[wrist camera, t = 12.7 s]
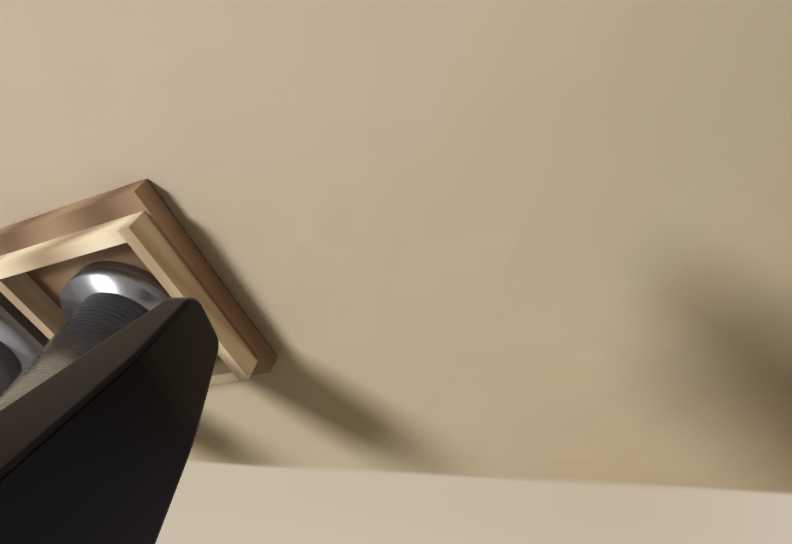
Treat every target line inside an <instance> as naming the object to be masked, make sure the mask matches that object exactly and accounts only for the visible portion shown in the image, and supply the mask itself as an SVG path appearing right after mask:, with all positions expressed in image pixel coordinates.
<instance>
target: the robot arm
mask: <svg viewBox="0 0 792 544" xmlns="http://www.w3.org/2000/svg"><path fill="white" fill-rule="evenodd" d="M218 350H219V341H218V336H217V334H216V332H215V330H214V328H213V326H212V324H211V322H210V320H209V318H208V316H207V314H206V312H205V310H204V308H203V306H202V304H201V303H200V301H198V300H197V299H196V298H193V297H174V298H169V299H166V300H165V301H163V302H162V303H160V304H159V305H157V306H156V307H154V308H153V309H151V310H150V311H148V312H147V313H145V314H144V315H142V316H141V317H139V318H138V319H136V320H135V321H133V322H132V323H130V324H129V325H127V326H126V327H124V328H123V329H121V330H120V331H118V332H117V333H115V334H114V335H112V336H111V337H109V338H108V339H106V340H105V341H103V342H102V343H100V344H99V345H97V346H96V347H94V348H93V349H91V350H90V351H88V352H87V353H85V354H84V355H82V356H81V357H80V358H78V359H77V360H75V361H74V362H72V363H71V364H69V365H68V366H66V367H65V368H63V369H62V370H60V371H59V372H57V373H56V374H54V375H53V376H51V377H50V378H48V379H47V380H45V381H44V382H42V383H41V384H39V385H38V386H36V387H35V388H33V389H32V390H30V391H29V392H27V393H26V394H24V395H23V396H21V397H20V398H18V399H17V400H15V401H14V402H12V403H11V404H9V405H8V406H6V407H5V408H3V409H2V410H0V544H155V543H156V540H157V538H158V535H159V532H160V530H161V527H162V525H163V521H164V519H165V517H166V514H167V512H168V509H169V506H170V504H171V501H172V498H173V496H174V493H175V490H176V488H177V485H178V483H179V480H180V477H181V475H182V472H183V470H184V467H185V465H186V462H187V459H188V457H189V454H190V451H191V448H192V445H193V442H194V439H195V436H196V433H197V429H198V426H199V422H200V418H201V415H202V411H203V407H204V403H205V400H206V396H207V392H208V388H209V385H210V381H211V377H212V373H213V370H214V366H215V362H216V358H217V355H218Z"/></svg>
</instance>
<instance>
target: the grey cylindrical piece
mask: <svg viewBox="0 0 792 544" xmlns="http://www.w3.org/2000/svg"><path fill="white" fill-rule="evenodd" d="M169 298H172V297H171V296H170V295H169V294H168V292H167V291H166V290H165V289H164V287H163V286H162V285H161V284H160V282H159V281H158V280H157V279H156V278H155V276H154V275H153V274H151V273H149V272H147V271H145V270H143V269H141V268H138V267H136V266H133V265H129V264H126V263H121V262H115V261H99V262H94V263H91V264H88V265H86V266H84V267H83V268H81V269H80V270H79V271H78V272H77V273H76V274H75V275H74V276H73V278H72V279H71V280H70V281H69V282H68V283H67V284H66V285H65V287H64V288H63V290H62V292H61V296H60V304H61V309H62V312H63V314H64V316H65V318H66V321H65V323H64V324H63V325H62V326H61V327H60V328H59V329H58V331H57V332H56V333H55V334H54V335H53V336H52V338H51V339H50V340H49V341H48V342H47V343H46V345H45V346H44V347H43V348H42V349H41V350H40V351H39V353H38V354H37V355H36V356H35V357H34V358H33V360H32V361H31V362H30V363H29V364H28V365H27V366H26V368H25V369H24V370H23V371H22V372H21V373H20V375H19V376H18V377H17V378H16V379H15V380H14V381H13V383H12V384H11V385H10V386H9V387H8V388H7V390H6V391H5V392H4V393H3V394H2V395H1V396H0V410H2V409H3V408H5V407H6V406H8V405H9V404H11V403H12V402H14V401H15V400H17V399H18V398H20V397H21V396H23V395H24V394H26V393H27V392H29V391H30V390H32V389H33V388H35V387H36V386H38V385H39V384H41V383H42V382H44V381H45V380H47V379H48V378H50V377H51V376H53V375H54V374H56V373H57V372H59V371H60V370H62V369H63V368H65V367H66V366H68V365H69V364H71V363H72V362H74V361H75V360H77V359H78V358H80V357H81V356H82V355H84V354H85V353H87V352H88V351H90V350H91V349H93V348H94V347H96V346H97V345H99V344H100V343H102V342H103V341H105V340H106V339H108V338H109V337H111V336H112V335H114V334H115V333H117V332H118V331H120V330H121V329H123V328H124V327H126V326H127V325H129V324H130V323H132V322H133V321H135V320H136V319H138V318H139V317H141V316H142V315H144V314H145V313H147V312H148V311H150V310H151V309H153V308H154V307H156V306H157V305H159V304H160V303H162V302H163V301H165V300H166V299H169Z"/></svg>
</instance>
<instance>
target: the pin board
mask: <svg viewBox="0 0 792 544" xmlns="http://www.w3.org/2000/svg"><path fill="white" fill-rule="evenodd" d="M99 261H115V262H121V263H126V264H129V265H133V266H136V267H138V268H141V269H143V270H145V271H147V272H149V273H151V274H153V275H154V276H155V278H156V279H157V280H158V281H159V282H160V284H161V285H162V286H163V287H164V289H165V290H166V291H167V292H168V294H169V295H170V296H171V297H172V298H174V297H193V298H196V299H197V300H198V301H200V303H201V304H202V306H203V308H204V310H205V312H206V314H207V316H208V318H209V320H210V322H211V324H212V326H213V328H214V330H215V332H216V334H217V336H218V341H219V350H218V355H217V358H216V362H215V366H214V370H213V373H212V377H211V381H210V385H214V384H220V383H227V382H233V381H240V380H246V379H249V378H250V376H251V375H254V374H260V373H267V372H271V369H272V367H273V365H274V363H275V361H276V358H277V356H276V355H275V354H274V352H273V351H272V350H271V348H270V347H269V346H268V344H267V343H266V341H265V340H264V339H263V337H262V336H261V335H260V333H259V332H258V331H257V329H256V328H255V326H254V325H253V324H252V322H251V321H250V320H249V318H248V317H247V316H246V314H245V313H244V311H243V310H242V309H241V307H240V306H239V305H238V303H237V302H236V300H235V299H234V298H233V296H232V295H231V294H230V292H229V291H228V290H227V288H226V287H225V285H224V284H223V283H222V281H221V280H220V279H219V277H218V276H217V275H216V273H215V272H214V270H213V269H212V268H211V266H210V265H209V264H208V262H207V261H206V260H205V258H204V257H203V255H202V254H201V253H200V251H199V250H198V249H197V247H196V246H195V244H194V243H193V242H192V240H191V239H190V238H189V236H188V235H187V234H186V232H185V231H184V229H183V228H182V227H181V225H180V224H179V223H178V221H177V220H176V219H175V217H174V216H173V214H172V213H171V212H170V210H169V209H168V208H167V206H166V205H165V204H164V202H163V201H162V199H161V198H160V197H159V195H158V194H157V193H156V191H155V190H154V188H153V187H152V186H151V184H150V183H149V182H148V180H147V179H144V180H142V181H139V182H136V183H133V184H130V185H127V186H124V187H121V188H118V189H115V190H112V191H109V192H106V193H104V194H101V195H98V196H95V197H92V198H89V199H86V200H83V201H80V202H77V203H74V204H71V205H68V206H66V207H63V208H60V209H57V210H54V211H51V212H48V213H45V214H42V215H39V216H36V217H33V218H30V219H28V220H25V221H22V222H19V223H16V224H13V225H10V226H7V227H4V228H1V229H0V396H1V395H2V394H3V393H4V392H5V391H6V390H7V388H8V387H9V386H10V385H11V384H12V383H13V381H14V380H15V379H16V378H17V377H18V376H19V375H20V373H21V372H22V371H23V370H24V369H25V368H26V366H27V365H28V364H29V363H30V362H31V361H32V360H33V358H34V357H35V356H36V355H37V354H38V353H39V351H40V350H41V349H42V348H43V347H44V346H45V345H46V343H47V342H48V341H49V340H50V339H51V338H52V336H53V335H54V334H55V333H56V332H57V331H58V329H59V328H60V327H61V326H62V325H63V324H64V323H65V321H66V318H65V316H64V314H63V312H62V309H61V304H60V296H61V292H62V290H63V288H64V287H65V285H66V284H67V283H68V282H69V281H70V280H71V279H72V278H73V276H74V275H75V274H76V273H77V272H78V271H79V270H80V269H81V268H83V267H84V266H86V265H88V264H91V263H94V262H99Z"/></svg>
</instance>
